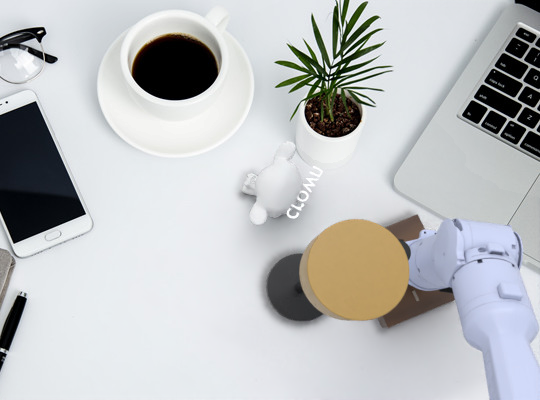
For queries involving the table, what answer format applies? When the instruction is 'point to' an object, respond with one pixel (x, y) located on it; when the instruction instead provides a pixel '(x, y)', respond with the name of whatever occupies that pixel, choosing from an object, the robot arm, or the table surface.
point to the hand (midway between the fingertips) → (404, 269)
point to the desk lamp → (342, 274)
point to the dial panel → (413, 298)
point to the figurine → (277, 186)
